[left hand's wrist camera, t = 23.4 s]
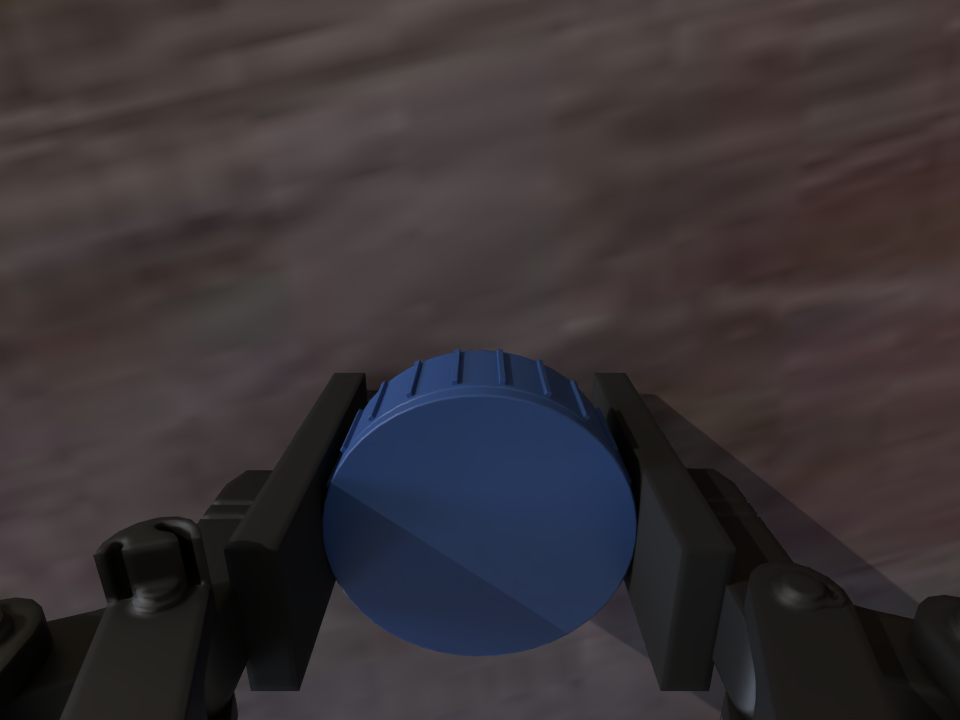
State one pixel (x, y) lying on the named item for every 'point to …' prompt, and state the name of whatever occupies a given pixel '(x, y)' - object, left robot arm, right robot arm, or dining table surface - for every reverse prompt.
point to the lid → (479, 506)
